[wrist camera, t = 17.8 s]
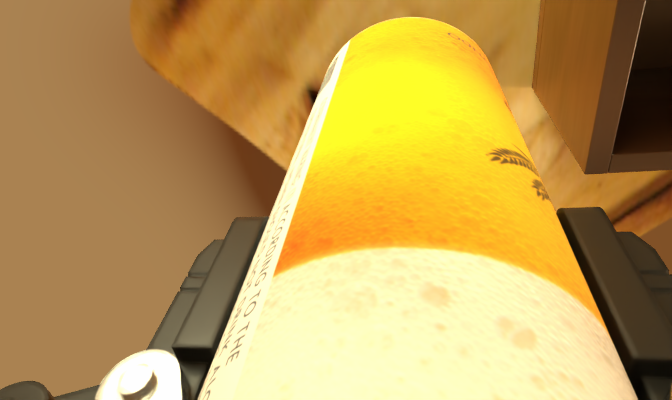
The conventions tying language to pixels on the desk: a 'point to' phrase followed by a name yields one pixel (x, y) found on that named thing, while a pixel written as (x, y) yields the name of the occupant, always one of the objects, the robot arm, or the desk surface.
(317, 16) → the desk surface
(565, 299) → the beer can
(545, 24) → the chest
